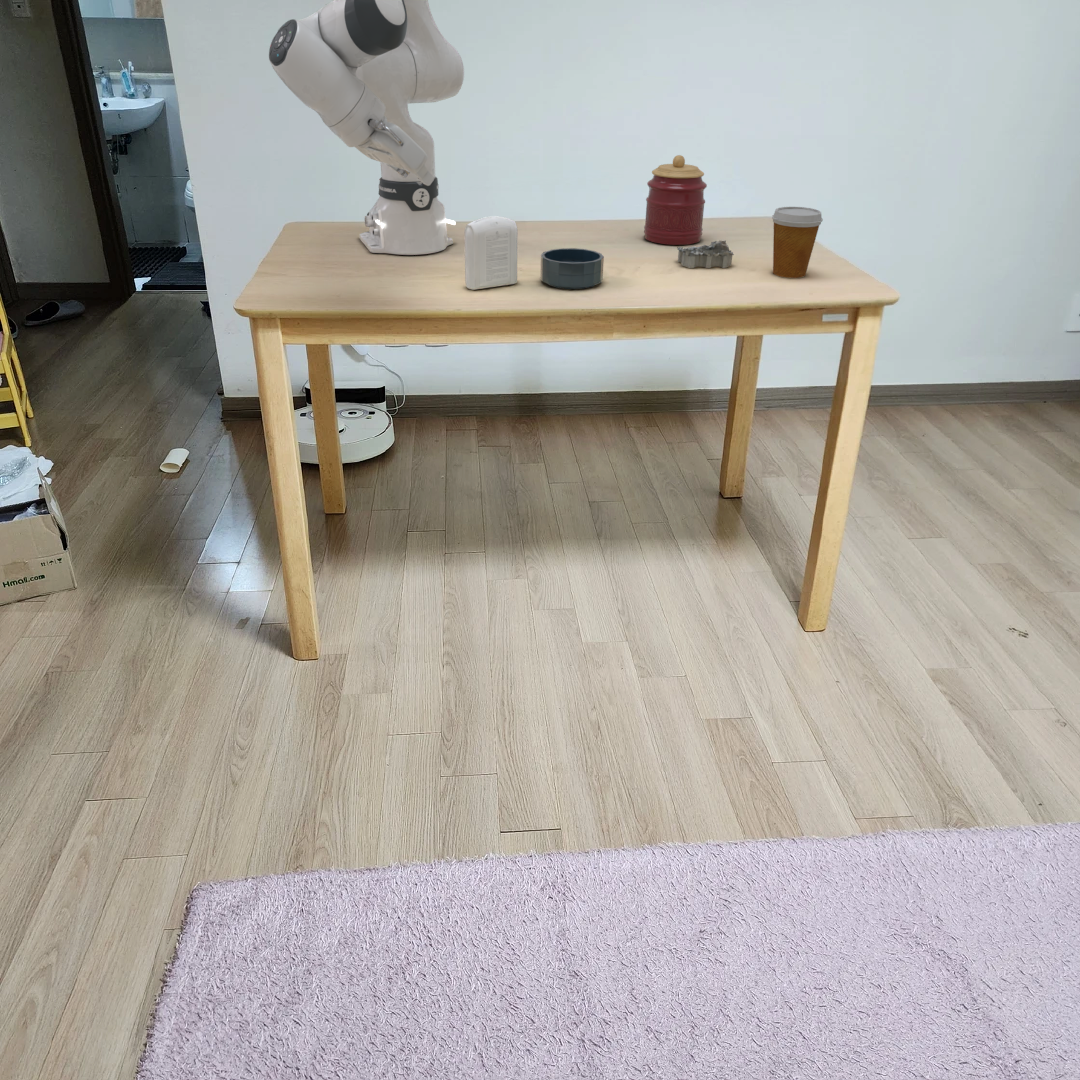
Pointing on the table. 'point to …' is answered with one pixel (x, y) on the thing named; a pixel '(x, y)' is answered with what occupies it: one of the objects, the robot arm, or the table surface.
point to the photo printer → (490, 252)
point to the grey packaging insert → (706, 255)
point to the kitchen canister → (675, 204)
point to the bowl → (572, 268)
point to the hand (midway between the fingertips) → (418, 178)
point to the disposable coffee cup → (794, 239)
